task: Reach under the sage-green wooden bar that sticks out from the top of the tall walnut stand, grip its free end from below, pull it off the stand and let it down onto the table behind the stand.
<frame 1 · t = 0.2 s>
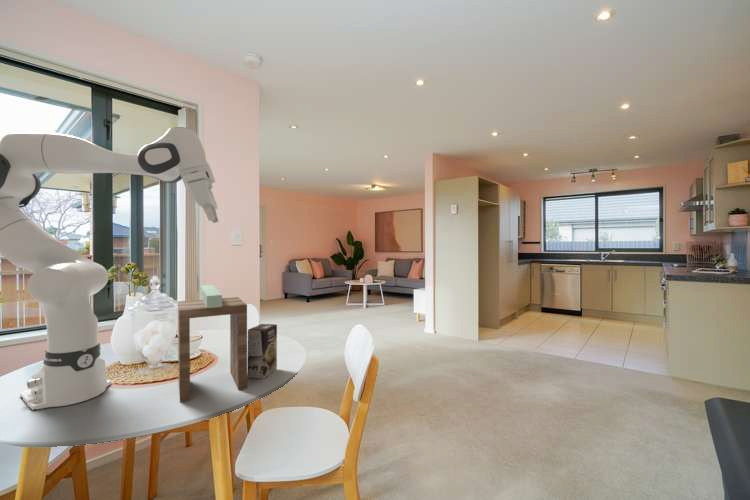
hand: (214, 221, 109), 52 cm above the table, tool tilted 20°, fingers open, 8 cm apart
coffee box: (262, 373, 117), on the table
stand: (212, 385, 107), on the table
bar: (210, 300, 111), point 26 cm above the table, touching stand
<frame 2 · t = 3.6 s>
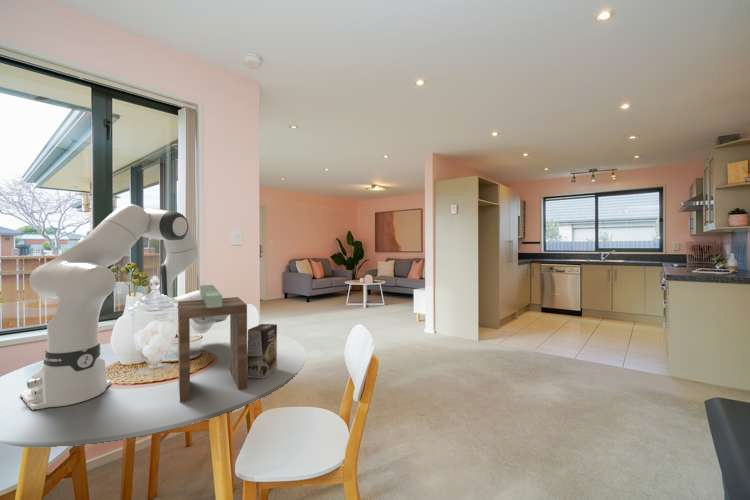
hand: (205, 303, 127), 22 cm above the table, tool pointing upward, fingers open, 8 cm apart
nothing on the table moved.
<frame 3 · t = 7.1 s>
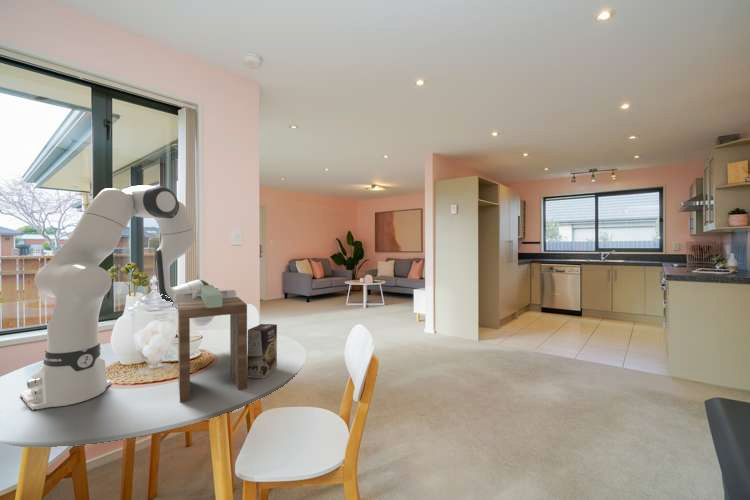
hand: (207, 290, 117), 28 cm above the table, tool pointing upward, fingers closed on bar, 4 cm apart
bar: (210, 300, 111), point 26 cm above the table, touching gripper, stand
everything else where it was.
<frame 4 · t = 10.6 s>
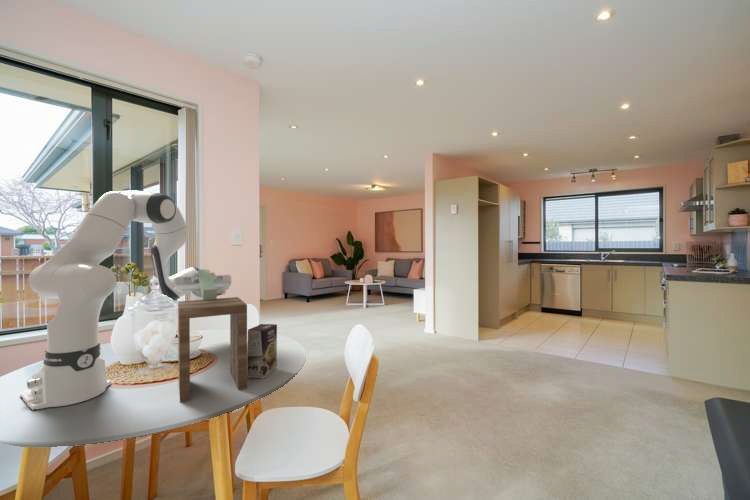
hand: (204, 274, 129), 33 cm above the table, tool pointing upward, fingers closed on bar, 4 cm apart
bar: (206, 287, 123), point 28 cm above the table, tilted 10°, touching gripper
everything else where it was.
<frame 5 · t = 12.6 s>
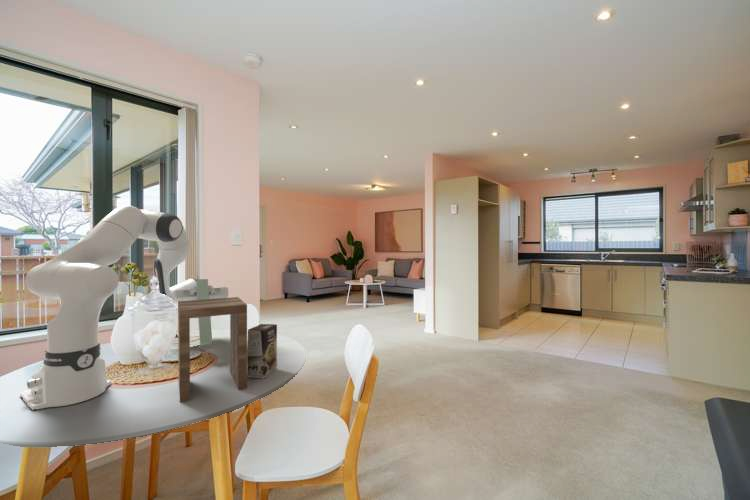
hand: (202, 287, 135), 27 cm above the table, tool pointing upward, fingers closed on bar, 4 cm apart
bar: (203, 312, 134), point 17 cm above the table, tilted 57°, touching gripper
everything else where it was.
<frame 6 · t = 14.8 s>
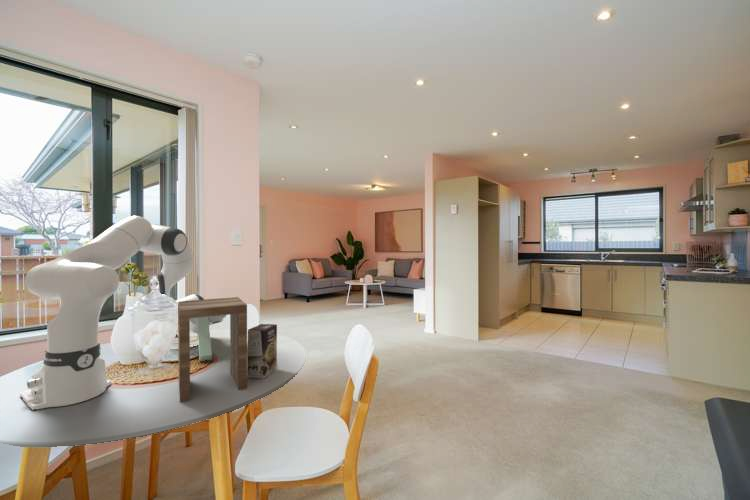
hand: (202, 305, 135), 20 cm above the table, tool pointing upward, fingers open, 8 cm apart
bar: (203, 333, 137), point 8 cm above the table, tilted 39°, touching arm
everything else where it was.
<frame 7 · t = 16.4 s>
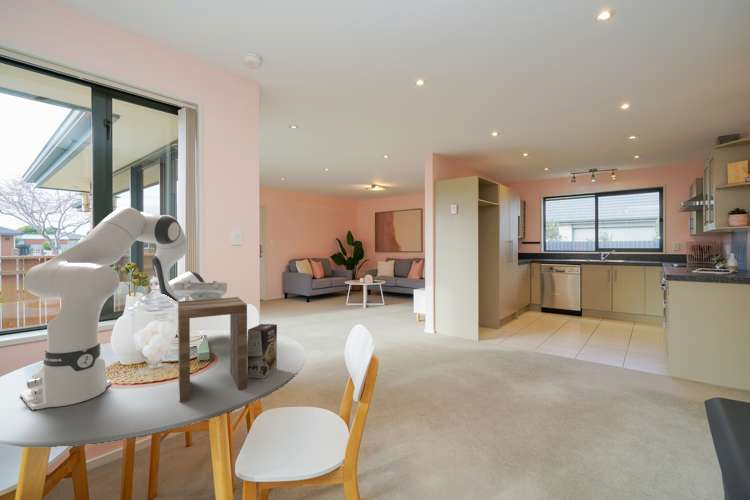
hand: (202, 282, 139), 28 cm above the table, tool pointing upward, fingers open, 8 cm apart
bar: (202, 351, 140), on the table
everything else where it was.
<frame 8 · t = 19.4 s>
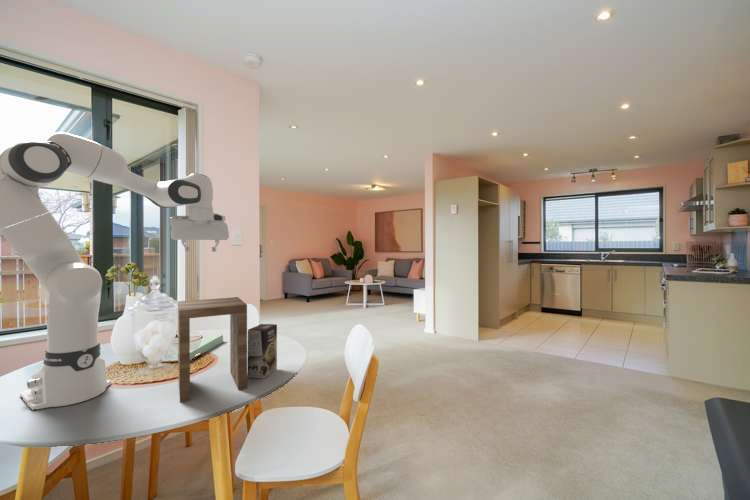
hand: (200, 251, 133), 41 cm above the table, tool pointing down, fingers open, 8 cm apart
at the end: bar inside the target area (12.7 cm from its centre), on the table; bar touching table; the gripper is holding nothing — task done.
